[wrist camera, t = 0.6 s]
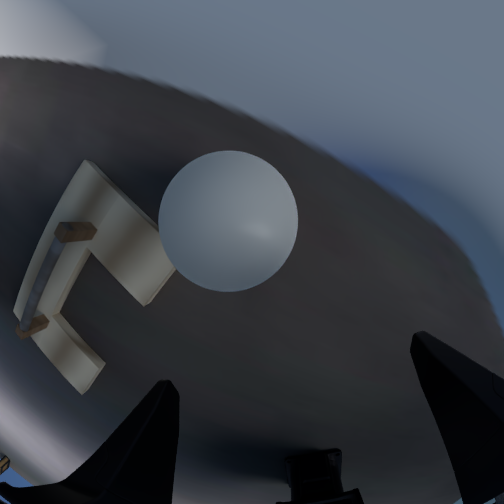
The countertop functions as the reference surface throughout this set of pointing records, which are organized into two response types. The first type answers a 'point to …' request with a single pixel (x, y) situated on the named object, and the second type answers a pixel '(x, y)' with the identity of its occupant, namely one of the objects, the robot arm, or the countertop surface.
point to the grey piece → (73, 259)
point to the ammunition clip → (4, 464)
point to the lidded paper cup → (228, 221)
